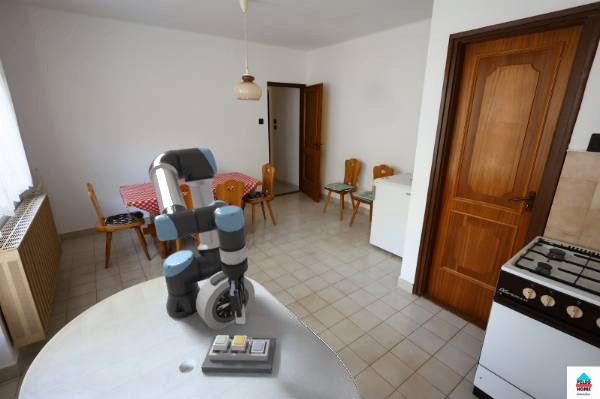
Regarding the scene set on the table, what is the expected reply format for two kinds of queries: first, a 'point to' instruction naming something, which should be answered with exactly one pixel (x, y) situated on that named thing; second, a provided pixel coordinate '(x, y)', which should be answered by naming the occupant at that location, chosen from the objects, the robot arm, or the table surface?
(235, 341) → the key ochre
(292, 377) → the table surface
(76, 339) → the table surface
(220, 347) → the key sage
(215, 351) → the keypad
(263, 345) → the key blue
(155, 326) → the table surface
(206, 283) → the alarm clock
